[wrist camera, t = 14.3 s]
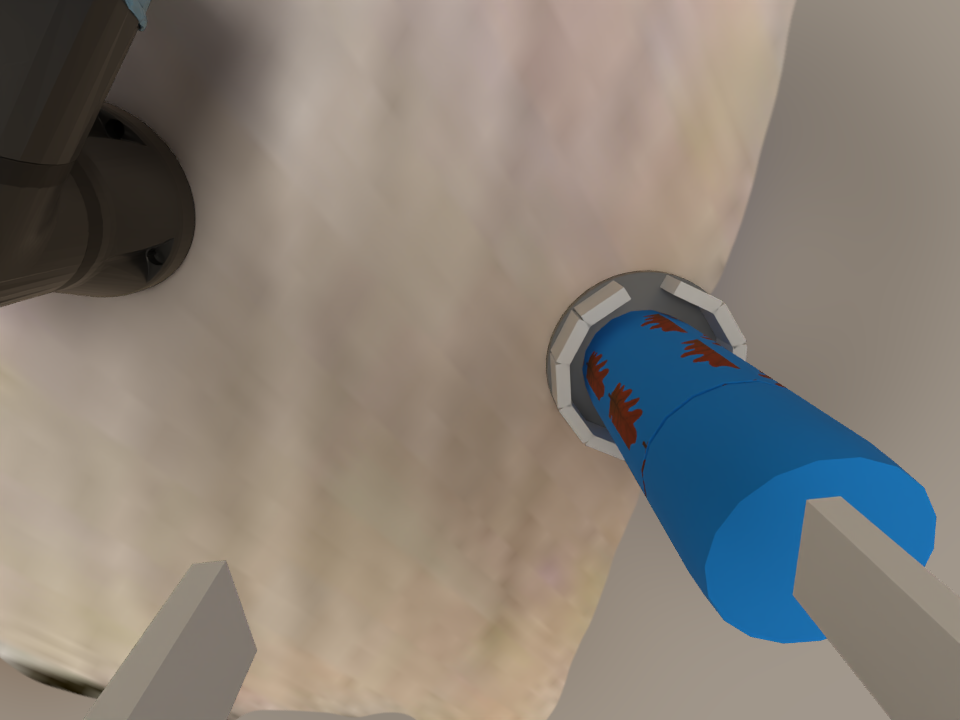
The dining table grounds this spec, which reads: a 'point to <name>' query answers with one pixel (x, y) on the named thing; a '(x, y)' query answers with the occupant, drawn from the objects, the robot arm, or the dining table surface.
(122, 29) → the robot arm
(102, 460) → the dining table surface
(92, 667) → the dining table surface
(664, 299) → the bayonet base
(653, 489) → the thermos
